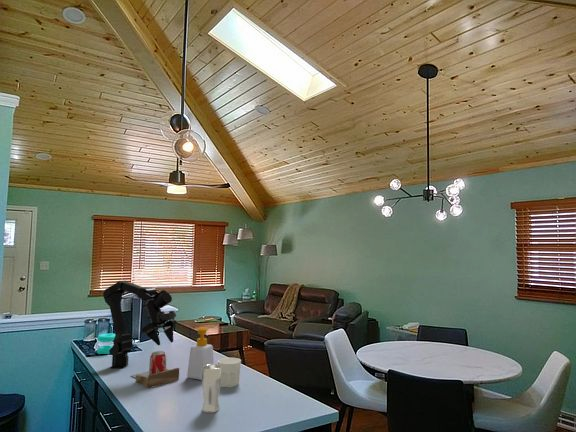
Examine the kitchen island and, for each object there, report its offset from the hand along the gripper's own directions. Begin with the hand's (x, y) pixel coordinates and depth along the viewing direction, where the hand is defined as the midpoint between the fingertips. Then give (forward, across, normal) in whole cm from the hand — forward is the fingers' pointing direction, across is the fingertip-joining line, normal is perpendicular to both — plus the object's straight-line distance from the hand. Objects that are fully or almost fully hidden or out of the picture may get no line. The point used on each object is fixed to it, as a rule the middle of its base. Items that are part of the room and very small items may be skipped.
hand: (165, 343), depth 183 cm
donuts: (-17, +22, +56) cm, 62 cm away
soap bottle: (+20, +8, -7) cm, 23 cm away
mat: (+9, -3, +14) cm, 17 cm away
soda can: (+14, -6, +6) cm, 16 cm away
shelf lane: (+14, -6, +6) cm, 16 cm away
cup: (+29, +2, -21) cm, 36 cm away
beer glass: (+34, -25, -27) cm, 50 cm away
